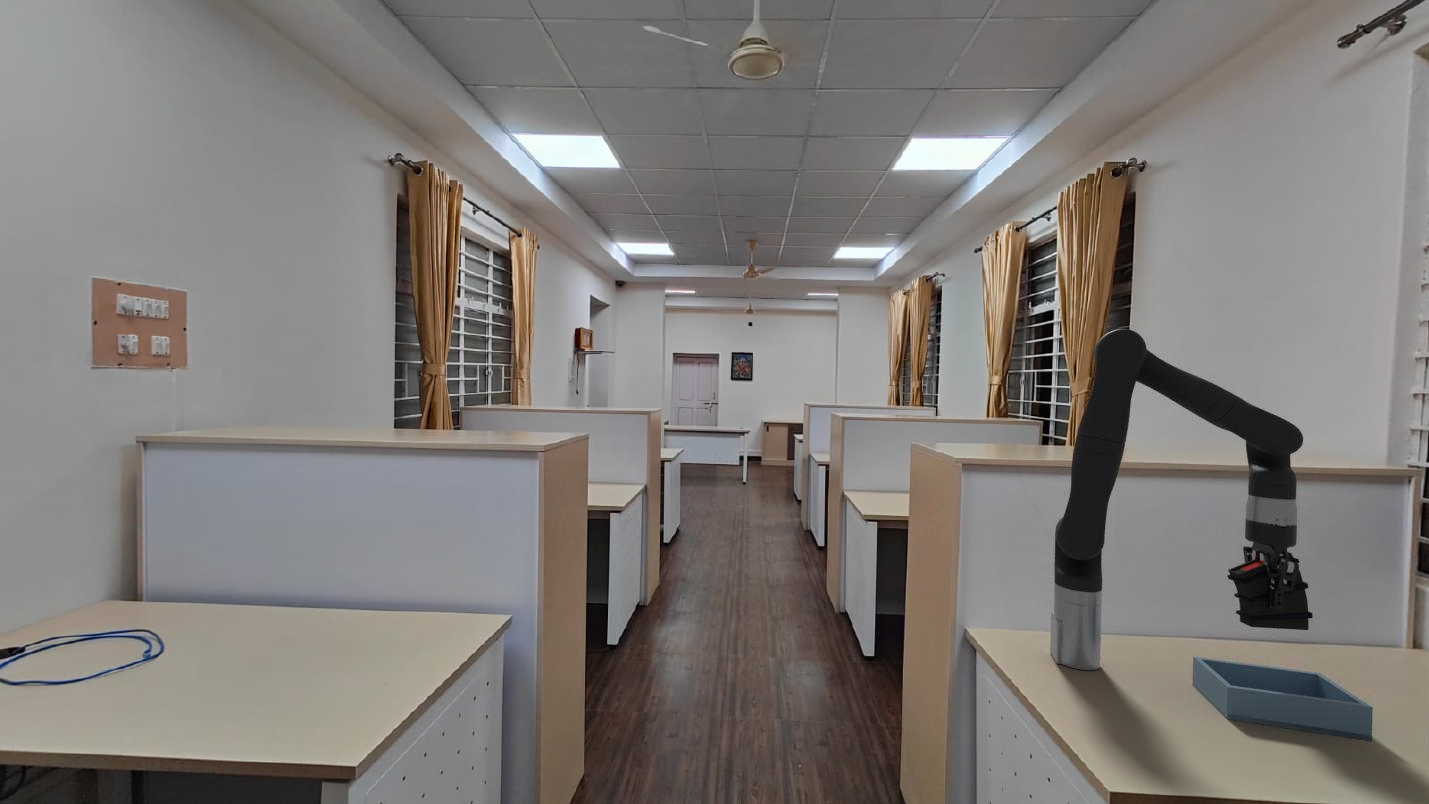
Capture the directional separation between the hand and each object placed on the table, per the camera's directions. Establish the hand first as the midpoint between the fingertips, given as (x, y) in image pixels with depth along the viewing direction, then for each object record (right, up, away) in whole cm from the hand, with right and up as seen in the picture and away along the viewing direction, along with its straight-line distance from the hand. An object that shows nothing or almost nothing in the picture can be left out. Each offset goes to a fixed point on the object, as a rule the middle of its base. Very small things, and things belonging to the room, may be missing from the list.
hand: (1267, 604), depth 119 cm
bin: (-3, -19, -4) cm, 20 cm away
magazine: (0, -5, 0) cm, 5 cm away
